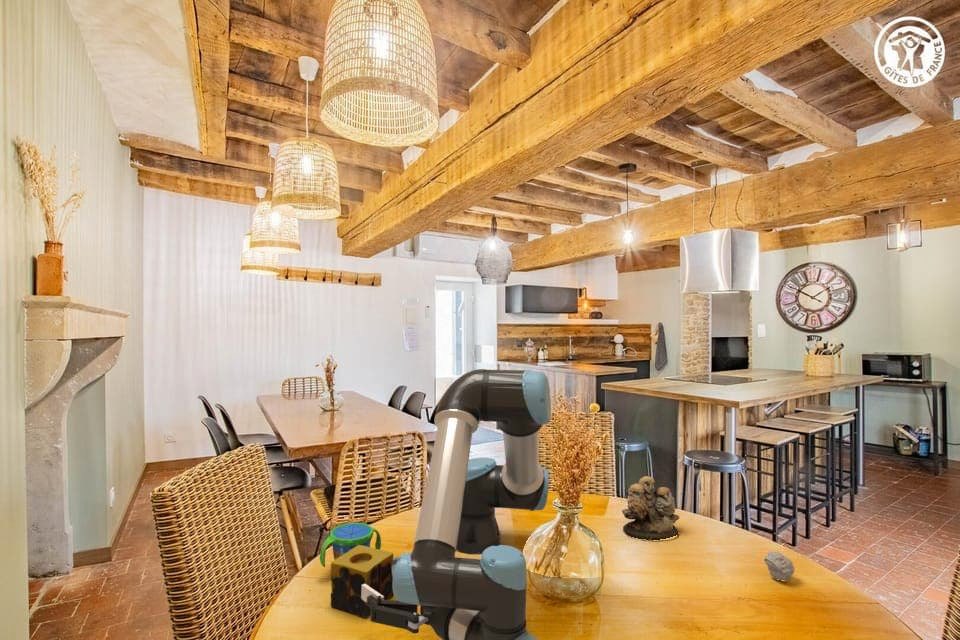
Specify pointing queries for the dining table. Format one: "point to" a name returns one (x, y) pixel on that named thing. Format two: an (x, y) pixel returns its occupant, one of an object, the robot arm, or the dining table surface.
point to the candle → (360, 578)
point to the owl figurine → (650, 511)
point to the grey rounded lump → (779, 566)
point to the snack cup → (349, 539)
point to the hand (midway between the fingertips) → (391, 578)
